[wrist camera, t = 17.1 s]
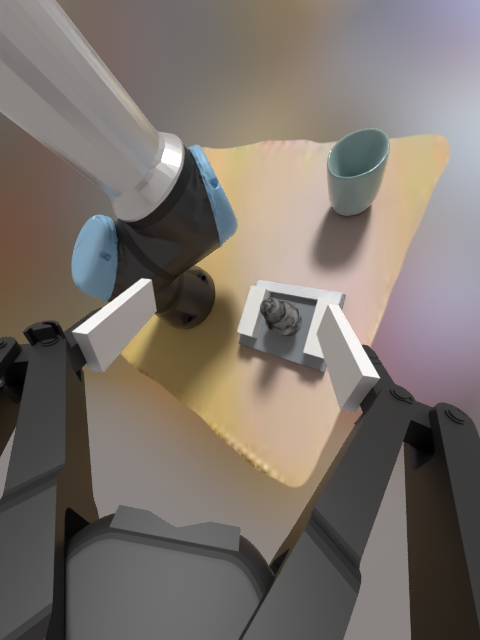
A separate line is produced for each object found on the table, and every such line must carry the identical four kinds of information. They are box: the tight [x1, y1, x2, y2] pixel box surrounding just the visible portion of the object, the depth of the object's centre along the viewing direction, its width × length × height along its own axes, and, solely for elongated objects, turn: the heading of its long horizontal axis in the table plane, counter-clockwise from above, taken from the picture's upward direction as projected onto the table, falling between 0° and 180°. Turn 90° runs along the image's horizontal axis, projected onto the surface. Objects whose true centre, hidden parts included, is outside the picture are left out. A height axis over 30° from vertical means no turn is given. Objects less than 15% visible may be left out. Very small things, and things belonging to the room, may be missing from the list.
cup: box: [327, 128, 390, 216], centre depth 33 cm, size 8×8×10 cm
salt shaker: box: [260, 297, 302, 336], centre depth 31 cm, size 6×6×12 cm
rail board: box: [237, 280, 346, 372], centre depth 36 cm, size 16×13×4 cm
